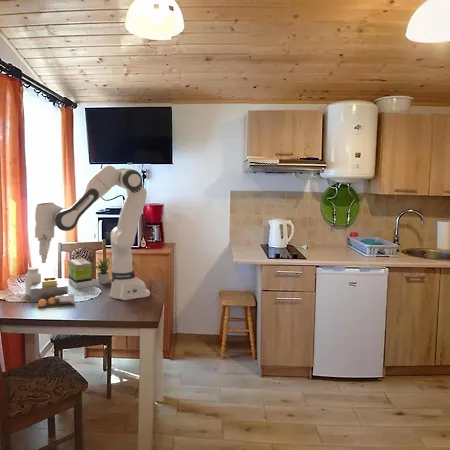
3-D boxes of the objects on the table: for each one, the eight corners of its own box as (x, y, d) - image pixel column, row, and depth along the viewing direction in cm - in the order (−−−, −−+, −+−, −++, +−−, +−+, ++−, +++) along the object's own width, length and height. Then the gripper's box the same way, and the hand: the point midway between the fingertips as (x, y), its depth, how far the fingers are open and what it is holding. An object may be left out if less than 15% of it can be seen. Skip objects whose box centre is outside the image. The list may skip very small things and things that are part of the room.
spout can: (73, 301, 213) (73, 292, 213) (74, 304, 209) (73, 295, 208) (54, 303, 210) (54, 294, 209) (54, 306, 205) (54, 297, 205)
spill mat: (73, 301, 216) (73, 300, 216) (74, 306, 207) (74, 305, 207) (39, 304, 210) (39, 303, 209) (37, 309, 201) (37, 309, 201)
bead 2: (56, 303, 211) (56, 295, 210) (56, 305, 207) (55, 298, 206) (48, 304, 209) (47, 296, 209) (47, 306, 206) (47, 299, 205)
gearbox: (67, 294, 227) (67, 275, 226) (67, 300, 216) (67, 280, 215) (32, 296, 221) (32, 277, 220) (30, 303, 210) (30, 283, 208)
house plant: (98, 278, 262) (98, 253, 259) (118, 279, 259) (118, 255, 257) (87, 284, 248) (87, 258, 245) (108, 286, 245) (108, 259, 243)
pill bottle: (42, 295, 225) (41, 268, 223) (26, 297, 220) (25, 270, 218) (40, 291, 231) (39, 265, 229) (24, 293, 227) (23, 267, 225)
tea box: (67, 283, 249) (67, 259, 247) (84, 280, 256) (83, 257, 254) (76, 289, 238) (75, 264, 236) (92, 286, 244) (92, 262, 242)
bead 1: (47, 305, 207) (46, 297, 207) (46, 307, 204) (46, 300, 203) (38, 305, 206) (38, 298, 205) (38, 308, 202) (37, 300, 202)
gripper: (50, 237, 194) (50, 265, 195) (52, 230, 212) (52, 256, 214) (36, 237, 191) (35, 265, 193) (39, 230, 210) (39, 256, 212)
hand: (44, 260), depth 204 cm, fingers open, 8 cm apart
